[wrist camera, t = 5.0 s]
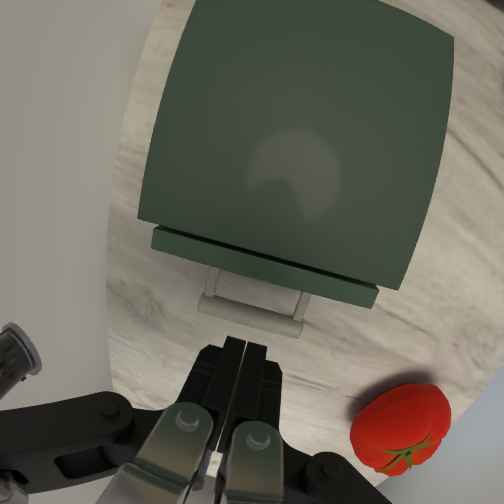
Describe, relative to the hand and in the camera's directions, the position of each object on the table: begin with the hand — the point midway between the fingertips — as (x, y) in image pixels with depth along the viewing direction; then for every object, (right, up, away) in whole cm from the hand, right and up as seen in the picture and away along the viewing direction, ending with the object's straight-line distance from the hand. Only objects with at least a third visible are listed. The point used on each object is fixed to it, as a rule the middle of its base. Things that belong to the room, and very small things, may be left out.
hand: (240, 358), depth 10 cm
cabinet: (+4, +13, +10) cm, 17 cm away
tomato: (+17, -15, +17) cm, 29 cm away
